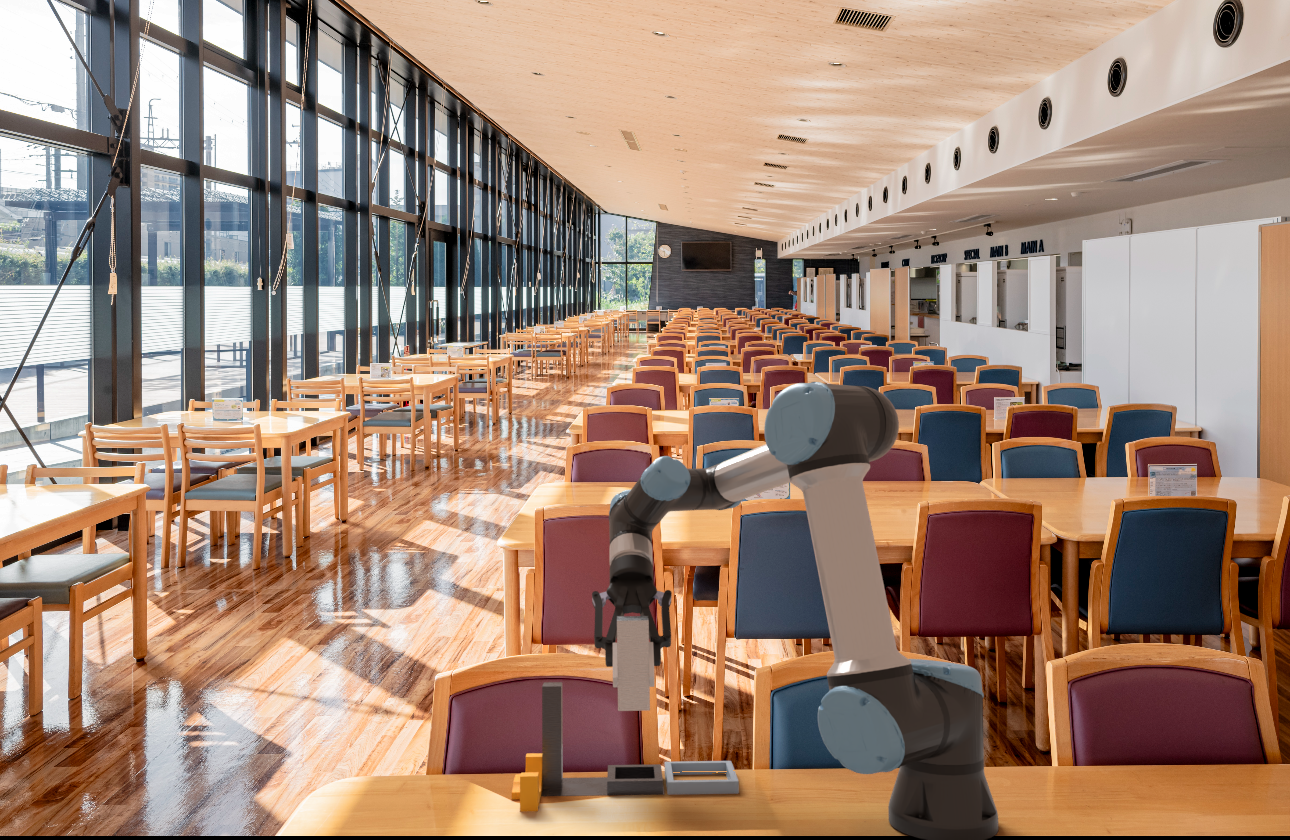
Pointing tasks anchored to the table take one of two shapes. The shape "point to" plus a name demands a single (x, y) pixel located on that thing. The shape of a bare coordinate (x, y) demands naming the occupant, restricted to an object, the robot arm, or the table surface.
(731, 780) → the parts tray
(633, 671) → the light grey tall block
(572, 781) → the dark grey post stand
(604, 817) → the table surface
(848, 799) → the table surface
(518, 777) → the pipe clamp
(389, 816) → the table surface
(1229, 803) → the table surface
